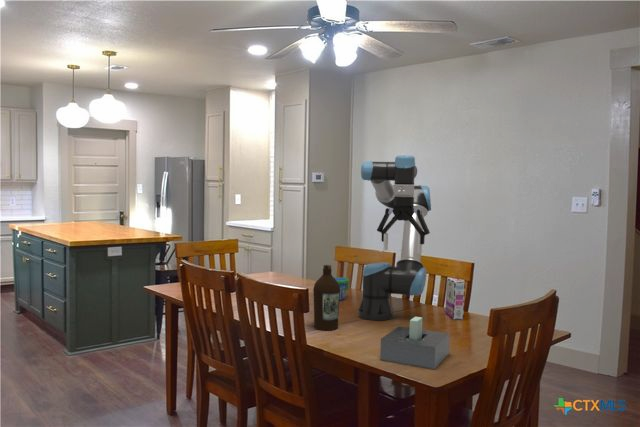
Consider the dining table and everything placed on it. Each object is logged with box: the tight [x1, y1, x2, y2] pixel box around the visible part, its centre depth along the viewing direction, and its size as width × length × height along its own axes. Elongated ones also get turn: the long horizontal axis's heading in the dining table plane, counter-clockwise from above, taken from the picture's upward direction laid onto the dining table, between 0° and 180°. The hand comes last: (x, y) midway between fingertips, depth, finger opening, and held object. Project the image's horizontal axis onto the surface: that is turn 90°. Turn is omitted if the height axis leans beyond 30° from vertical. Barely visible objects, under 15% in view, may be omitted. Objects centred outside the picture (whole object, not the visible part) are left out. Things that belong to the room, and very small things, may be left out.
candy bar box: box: [445, 277, 466, 321], centre depth 237 cm, size 11×5×16 cm, turn 5°
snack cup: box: [333, 276, 350, 301], centre depth 269 cm, size 16×10×10 cm
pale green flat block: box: [409, 316, 423, 340], centre depth 180 cm, size 2×6×12 cm, turn 153°
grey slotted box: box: [379, 326, 451, 370], centre depth 181 cm, size 18×18×7 cm
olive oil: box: [312, 264, 341, 332], centre depth 215 cm, size 11×11×25 cm
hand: (402, 251), depth 208 cm, fingers open, 13 cm apart
